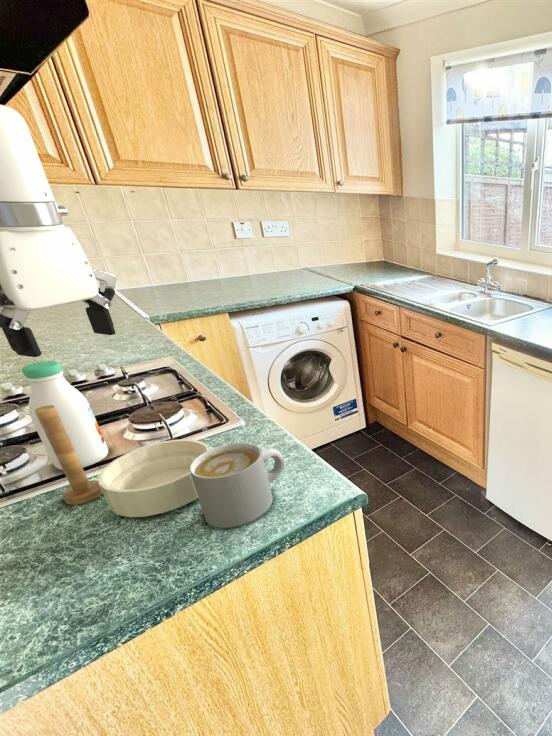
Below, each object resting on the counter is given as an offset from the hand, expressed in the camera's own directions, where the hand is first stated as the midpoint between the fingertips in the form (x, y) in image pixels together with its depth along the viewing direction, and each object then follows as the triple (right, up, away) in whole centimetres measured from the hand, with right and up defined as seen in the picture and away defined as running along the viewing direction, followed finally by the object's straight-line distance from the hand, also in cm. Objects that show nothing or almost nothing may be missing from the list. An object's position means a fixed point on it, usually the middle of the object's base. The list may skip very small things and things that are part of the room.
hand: (70, 343), depth 60 cm
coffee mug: (+18, -27, +13) cm, 35 cm away
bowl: (+2, -25, +15) cm, 29 cm away
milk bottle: (-20, -21, +22) cm, 36 cm away
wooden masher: (-11, -25, +13) cm, 30 cm away
